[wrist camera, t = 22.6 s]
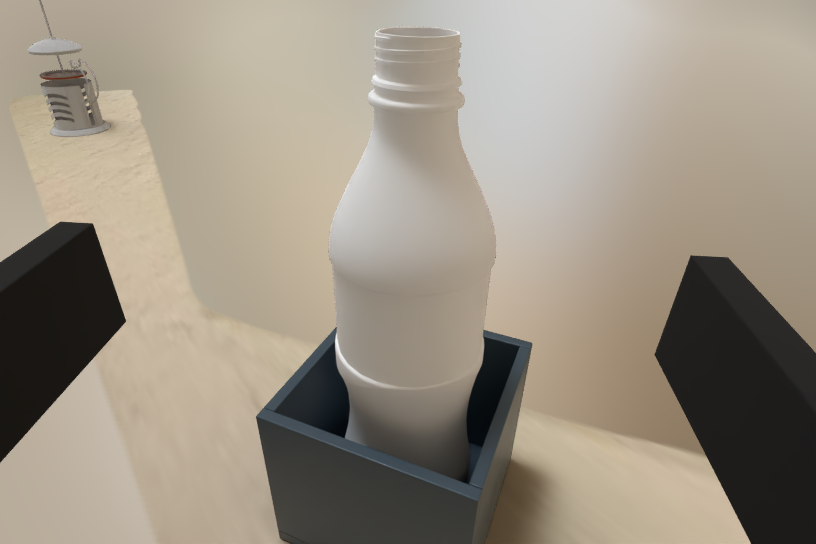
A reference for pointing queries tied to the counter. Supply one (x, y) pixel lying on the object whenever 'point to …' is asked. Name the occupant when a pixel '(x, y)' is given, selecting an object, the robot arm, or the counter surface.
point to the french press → (69, 91)
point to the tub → (385, 460)
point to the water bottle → (412, 261)
